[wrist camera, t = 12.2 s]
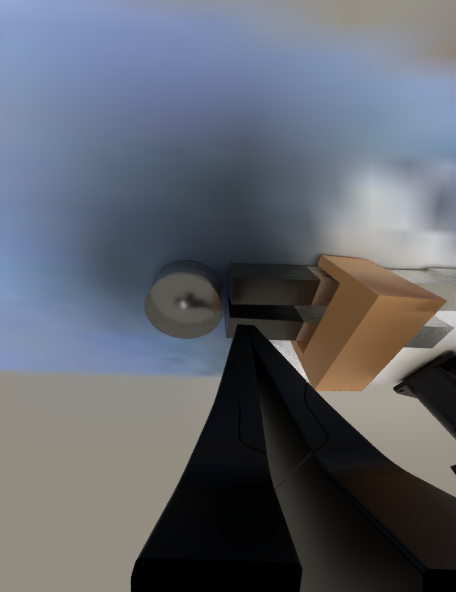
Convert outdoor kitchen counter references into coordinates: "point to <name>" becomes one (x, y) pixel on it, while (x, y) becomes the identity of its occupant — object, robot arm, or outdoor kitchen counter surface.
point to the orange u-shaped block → (363, 324)
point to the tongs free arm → (319, 284)
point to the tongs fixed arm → (239, 310)
